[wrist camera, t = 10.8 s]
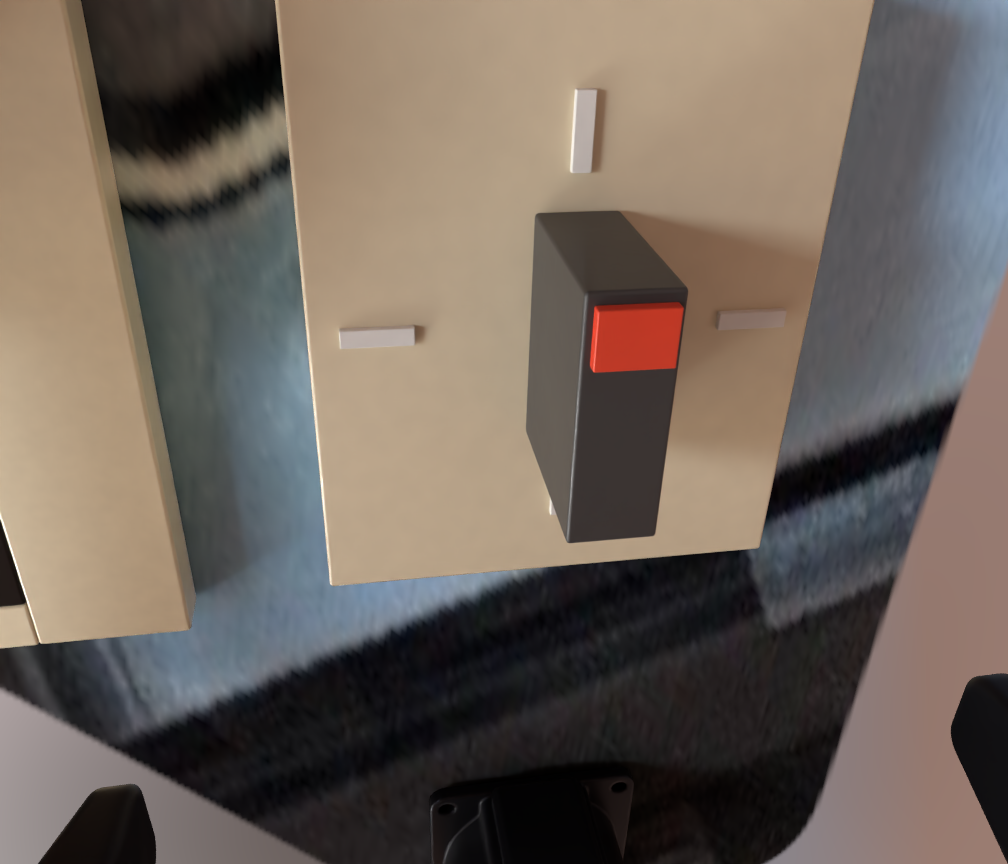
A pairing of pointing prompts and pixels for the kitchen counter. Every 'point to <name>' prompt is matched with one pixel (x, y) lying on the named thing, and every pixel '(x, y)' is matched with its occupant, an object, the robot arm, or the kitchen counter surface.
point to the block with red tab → (601, 372)
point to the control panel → (510, 242)
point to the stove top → (74, 364)
